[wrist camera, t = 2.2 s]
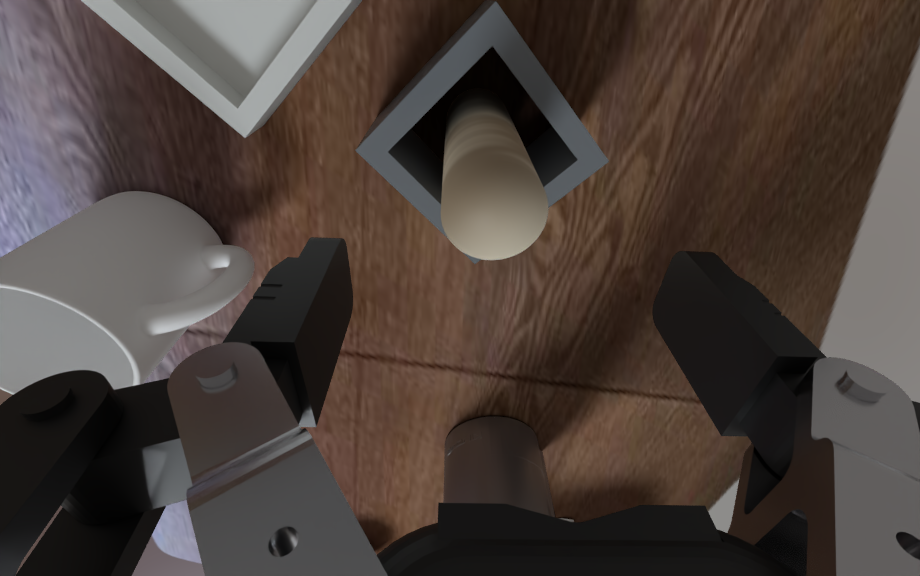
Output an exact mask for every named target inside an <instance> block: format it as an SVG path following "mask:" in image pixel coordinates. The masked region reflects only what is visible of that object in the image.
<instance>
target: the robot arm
mask: <svg viewBox="0 0 920 576" xmlns="http://www.w3.org/2000/svg"><path fill="white" fill-rule="evenodd" d="M352 307H353V290H352V283H351V275H350V268H349V260H348V253H347V246H346V242H345V240H344V239H342V238H314V237H312V238H310V239H309V240H308V242H307V244H306V246H305V247H304V249H303V251H302V252H301V254H300V256H299V258H290V257H287V258H286V259H285V260H283V261H282V262H280V263H279V264H278V265H276V266H275V267H273V268H272V269H270V271H269V272H268V274H267V276H266V277H265V279H264V280H263V282H262V283H261V287H259V288H258V289H257V291H256V292H255V294H254V295H253V299H251V300H250V302H249V303H248V305H247V306H246V308H245V309H244V311H243V312H242V314H241V315H240V317H239V318H238V320H237V321H236V323H235V325H234V326H233V328H232V329H231V331H230V332H229V334H228V335H227V337H226V338H225V340H224V341H223V343H221V344H217V345H213V346H210V347H207V348H204V349H202V350H199V351H198V352H196V353H194V354H192V355H191V356H189V357H188V358H186V359H185V360H184V361H182V362H181V363H180V364H179V365H178V366H177V367H176V368H175V369H174V371H173V372H172V374H171V375H170V378H167V379H163V380H159V381H154V382H149V383H144V384H140V385H135V386H130V387H125V388H120V389H116V390H114V389H113V388H112V386H111V385H110V383H109V382H108V380H107V379H106V377H105V376H104V375H102V374H101V373H98V372H96V371H91V370H74V371H68V372H63V373H59V374H55V375H52V376H49V377H47V378H44V379H42V380H39V381H37V382H35V383H33V384H31V385H29V386H27V387H25V388H23V389H22V390H20V391H18V392H17V393H15V394H14V395H12V396H11V397H10V398H8V399H7V400H6V401H5V402H3V403H2V404H1V405H0V576H15V575H16V576H132V574H133V572H134V570H135V568H136V566H137V564H138V561H139V560H140V558H141V556H142V553H143V551H144V549H145V548H146V545H147V543H148V541H149V539H150V537H151V535H152V533H153V531H154V529H155V527H156V525H157V523H158V521H159V519H160V517H161V515H162V513H163V511H164V509H165V507H166V505H170V504H173V503H177V502H180V501H184V500H187V504H188V508H189V513H190V517H191V521H192V525H193V529H194V533H195V537H196V541H197V545H198V549H199V553H200V557H201V561H202V565H203V569H204V573H205V576H920V403H918V402H914V401H911V400H910V398H909V397H908V395H907V394H906V393H905V392H904V391H903V390H902V389H901V388H900V387H899V386H898V385H896V384H895V383H894V382H893V381H891V380H889V379H888V378H887V377H885V376H884V375H882V374H880V373H878V372H877V371H875V370H873V369H871V368H869V367H866V366H864V365H862V364H859V363H856V362H853V361H850V360H846V359H841V358H831V357H829V358H827V357H826V356H825V355H824V354H823V353H822V352H821V351H820V350H819V349H818V348H817V347H816V346H815V345H814V344H813V343H812V342H811V341H810V340H809V339H808V338H807V337H805V336H804V335H803V334H802V333H801V332H800V331H799V330H798V329H797V328H796V327H795V326H794V325H793V324H792V323H791V322H790V321H789V320H788V319H787V318H786V317H785V316H781V312H780V311H779V310H778V309H777V308H776V307H775V306H774V305H773V304H770V303H769V300H768V299H767V298H766V297H765V296H764V295H763V294H762V293H761V292H760V291H759V290H758V289H757V288H756V287H755V286H754V285H752V284H750V283H749V282H747V281H745V280H744V279H742V278H740V277H739V276H737V275H736V274H735V273H734V272H733V271H732V270H731V269H730V268H729V267H728V266H727V265H726V264H725V263H724V262H723V261H722V260H721V259H720V258H719V257H718V256H717V255H716V254H715V253H712V252H690V251H680V252H678V253H676V254H675V255H674V256H673V258H672V260H671V262H670V264H669V267H668V269H667V272H666V274H665V277H664V279H663V281H662V284H661V286H660V289H659V291H658V294H657V296H656V298H655V301H654V304H653V320H654V323H655V326H656V328H657V329H658V331H659V333H660V334H661V336H662V338H663V339H664V341H665V343H666V344H667V346H668V348H669V349H670V351H671V353H672V354H673V356H674V358H675V359H676V361H677V363H678V364H679V366H680V368H681V369H682V371H683V373H684V374H685V376H686V378H687V379H688V381H689V383H690V384H691V386H692V388H693V389H694V391H695V393H696V394H697V396H698V398H699V399H700V401H701V403H702V404H703V406H704V408H705V409H706V411H707V413H708V414H709V416H710V418H711V419H712V421H713V423H714V424H715V426H716V428H717V429H718V431H719V433H720V434H721V436H748V437H749V439H750V440H751V442H752V443H751V444H750V446H749V447H748V448H747V449H746V451H745V453H744V457H743V462H742V468H741V473H740V479H739V484H738V489H737V495H736V500H735V506H734V511H733V517H732V522H731V525H730V528H729V530H728V533H725V532H723V531H720V530H717V529H716V527H715V525H714V523H713V521H712V519H711V517H710V515H709V513H708V511H707V509H706V507H705V506H679V505H639V506H636V507H633V508H629V509H626V510H623V511H619V512H616V513H612V514H609V515H606V516H602V517H599V518H596V519H592V520H589V521H585V522H580V523H577V522H570V521H566V520H563V519H559V518H556V517H555V513H554V508H553V503H552V498H551V493H550V488H549V483H548V478H547V472H546V467H545V462H544V457H543V452H542V451H540V450H539V445H538V440H537V437H536V434H535V433H534V431H533V430H532V429H531V428H530V427H529V426H527V425H526V424H524V423H522V422H520V421H518V420H515V419H511V418H506V417H482V418H477V419H473V420H470V421H467V422H465V423H463V424H461V425H459V426H458V427H456V428H455V429H453V430H452V431H451V433H450V434H449V435H448V437H447V439H446V441H445V460H444V500H443V503H439V506H438V523H435V524H432V525H428V526H425V527H422V528H420V529H417V530H415V531H413V532H411V533H408V534H406V535H405V536H403V537H401V538H400V539H398V540H396V541H395V542H393V543H392V544H390V545H389V546H388V547H386V548H385V549H384V550H382V551H381V552H380V553H379V554H377V555H376V553H375V552H374V550H373V548H372V546H371V544H370V542H369V541H368V539H367V537H366V535H365V533H364V531H363V530H362V528H361V526H360V524H359V522H358V520H357V519H356V517H355V515H354V513H353V511H352V509H351V508H350V506H349V504H348V502H347V500H346V499H345V497H344V495H343V493H342V491H341V489H340V488H339V486H338V484H337V482H336V480H335V478H334V477H333V475H332V473H331V471H330V469H329V467H328V466H327V464H326V462H325V460H324V458H323V457H322V455H321V453H320V451H319V449H318V447H317V446H316V444H315V442H314V440H313V438H312V437H311V435H310V434H309V432H308V431H307V430H306V429H305V428H304V429H301V428H300V427H316V426H317V423H318V420H319V417H320V414H321V410H322V407H323V404H324V401H325V398H326V394H327V391H328V388H329V385H330V382H331V379H332V375H333V372H334V369H335V366H336V363H337V359H338V356H339V353H340V350H341V347H342V343H343V340H344V337H345V334H346V331H347V328H348V324H349V321H350V318H351V314H352ZM60 505H61V506H62V507H63V508H62V510H61V511H60V512H59V514H58V515H57V516H56V518H55V519H54V521H53V522H52V524H51V525H50V527H49V528H48V529H47V531H46V532H45V534H44V536H43V537H42V538H41V540H40V541H39V542H38V544H37V546H36V547H35V548H34V550H33V551H32V553H31V554H30V556H29V557H28V558H27V560H26V561H25V563H24V564H23V566H22V567H21V568H20V570H19V571H18V573H17V574H16V572H17V570H18V568H19V566H20V564H21V562H22V560H23V559H24V557H25V556H26V554H27V553H28V551H29V550H30V548H31V547H32V546H33V544H34V543H35V541H36V540H37V538H38V537H39V536H40V534H41V533H42V531H43V530H44V528H45V527H46V526H47V524H48V523H49V521H50V520H51V518H52V517H53V515H54V514H55V513H56V511H57V510H58V508H59V507H60Z"/></svg>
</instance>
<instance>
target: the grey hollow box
mask: <svg viewBox="0 0 920 576" xmlns="http://www.w3.org/2000/svg"><path fill="white" fill-rule="evenodd" d="M492 46H493V48H494V49H495V50H496V52H497V53H498V54H499V56H500V57H501V58H502V60H503V61H504V62H505V64H506V65H507V66H508V68H509V69H510V71H511V72H512V73H513V75H514V76H515V77H516V79H517V80H518V81H519V83H520V84H521V85H522V87H523V88H524V89H525V91H526V92H527V93H528V95H529V96H530V97H531V99H532V100H533V101H534V103H535V104H536V105H537V107H538V108H539V109H540V111H541V112H542V113H543V115H544V116H545V117H546V119H547V120H548V121H549V123H550V124H551V125H552V126H551V127H550V128H549V129H547V130H546V131H545V132H544V133H543V134H542V135H540V136H539V137H538V138H537V139H536V140H535V141H533V142H532V143H531V144H530V145H529V146H528V147H526V148H525V149H526V151H527V153H528V155H529V158H530V160H531V162H532V164H533V166H534V168H535V170H536V172H537V175H538V177H539V179H540V181H541V183H542V185H543V187H544V190H545V192H546V195H547V199H548V208H549V207H550V206H551V205H553V204H554V203H555V202H557V201H558V200H559V199H560V198H562V197H563V196H564V195H566V194H567V193H568V192H570V191H571V190H572V189H574V188H575V187H576V186H577V185H579V184H580V183H581V182H583V181H584V180H585V179H587V178H588V177H589V176H591V175H592V174H593V173H594V172H596V171H597V170H598V169H600V168H601V167H602V166H604V165H605V164H606V163H608V162H609V161H608V159H607V158H606V157H605V155H604V154H603V152H602V151H601V149H600V148H599V147H598V145H597V144H596V142H595V141H594V140H593V138H592V137H591V135H590V134H589V132H588V131H587V130H586V128H585V127H584V125H583V124H582V122H581V121H580V120H579V118H578V117H577V115H576V114H575V113H574V111H573V110H572V108H571V107H570V105H569V104H568V103H567V101H566V100H565V98H564V97H563V95H562V94H561V93H560V91H559V90H558V88H557V87H556V86H555V84H554V83H553V81H552V80H551V78H550V77H549V76H548V74H547V73H546V71H545V70H544V68H543V67H542V66H541V64H540V63H539V61H538V60H537V59H536V57H535V56H534V54H533V53H532V51H531V50H530V49H529V47H528V46H527V44H526V43H525V41H524V40H523V39H522V37H521V36H520V34H519V33H518V32H517V30H516V29H515V27H514V26H513V24H512V23H511V22H510V20H509V19H508V17H507V16H506V14H505V13H504V12H503V10H502V9H501V7H500V6H499V5H498V3H497V2H496V1H492V0H485V1H484V2H483V3H482V4H481V5H480V6H479V7H478V9H477V10H476V11H475V12H474V13H473V14H472V15H471V16H470V17H469V18H468V19H467V20H466V22H465V23H464V24H463V25H462V26H461V27H460V28H459V29H458V30H457V31H456V32H455V33H454V34H453V36H452V37H451V38H450V39H449V40H448V41H447V42H446V43H445V44H444V45H443V46H442V47H441V48H440V50H439V51H438V52H437V53H436V54H435V55H434V56H433V57H432V58H431V59H430V60H429V61H428V62H427V64H426V65H425V66H424V67H423V68H422V69H421V70H420V71H419V72H418V73H417V74H416V75H415V77H414V78H413V79H412V80H411V81H410V82H409V83H408V84H407V85H406V86H405V87H404V88H403V89H402V91H401V92H400V93H399V94H398V95H397V96H396V97H395V98H394V99H393V100H392V101H391V102H390V103H389V105H388V106H387V107H386V108H385V109H384V110H383V111H382V112H381V113H380V114H379V115H378V116H377V117H376V119H375V121H374V122H373V124H372V125H371V127H370V128H369V130H368V131H367V133H366V135H365V136H364V138H363V139H362V141H361V142H360V144H359V146H358V147H357V149H356V150H355V151H356V152H357V153H358V154H360V155H361V156H362V157H363V158H364V159H365V160H366V161H367V162H368V163H369V164H370V165H371V166H372V167H373V168H374V169H375V170H376V171H377V172H378V173H380V174H381V175H382V176H383V177H384V178H385V179H386V180H387V181H388V182H389V183H390V184H391V185H392V186H393V187H394V188H395V189H396V190H397V191H399V192H400V193H401V194H402V195H403V196H404V197H405V198H406V199H407V200H408V201H409V202H410V203H411V204H412V205H413V206H414V207H415V208H416V209H418V210H419V211H420V212H421V213H422V214H423V215H424V216H425V217H426V218H427V219H428V220H429V221H430V222H431V223H432V224H433V225H434V226H435V227H436V228H438V229H439V230H440V231H441V232H442V233H443V234H444V235H445V236H446V237H447V235H446V233H445V231H444V229H443V226H442V222H441V198H442V181H443V165H444V163H443V162H442V161H441V160H440V159H439V158H438V157H437V156H436V155H435V153H434V152H433V151H432V150H431V149H430V148H429V147H428V146H427V145H426V144H425V143H424V142H423V141H422V140H421V139H420V138H419V137H418V135H417V134H416V133H415V132H414V131H413V130H412V129H411V128H412V127H413V126H414V125H415V124H416V123H417V122H418V121H419V120H420V119H421V118H422V117H423V116H424V115H425V114H426V113H427V112H428V110H429V109H430V108H431V107H432V106H433V105H434V104H435V103H436V102H437V101H438V100H439V99H440V98H441V97H442V96H443V95H444V94H445V93H446V92H447V91H448V90H449V89H450V88H451V87H452V86H453V85H454V84H455V83H456V82H457V81H458V80H459V79H460V78H461V77H462V76H463V75H464V74H465V73H466V72H467V71H468V70H469V69H470V68H471V67H472V66H473V65H474V64H475V63H476V62H477V61H478V60H479V59H480V58H481V57H482V56H483V55H484V54H485V53H486V52H487V51H488V50H489V49H490V48H491V47H492ZM447 238H448V237H447ZM448 239H449V238H448ZM463 253H464V252H463ZM464 254H465V253H464ZM465 255H466V256H467V257H468V258H469V259H470V260H471V261H472V262H473V263H474V264H476V263H477V262H478V261H479V260H481V259H478V258H475V257H472V256H469V255H467V254H465Z"/></svg>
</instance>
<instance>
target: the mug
mask: <svg viewBox="0 0 920 576" xmlns="http://www.w3.org/2000/svg"><path fill="white" fill-rule="evenodd" d="M253 272H254V260H253V257H252V255H251V254H250V253H249V252H248V251H247V250H245V249H243V248H241V247H239V246H234V245H223V244H222V242H221V240H220V238H219V236H218V235H217V233H216V232H215V231H214V229H213V228H212V227H211V226H210V225H209V224H208V222H207V221H206V220H204V219H203V218H202V217H201V216H200V215H199V214H197V213H196V212H195V211H193V210H192V209H190V208H189V207H187V206H186V205H184V204H182V203H180V202H178V201H176V200H174V199H172V198H169V197H167V196H163V195H160V194H156V193H151V192H143V191H127V192H122V193H117V194H114V195H111V196H109V197H106V198H104V199H102V200H100V201H98V202H96V203H94V204H93V205H91V206H89V207H87V208H86V209H84V210H82V211H80V212H79V213H77V214H75V215H74V216H72V217H70V218H68V219H67V220H65V221H63V222H61V223H60V224H58V225H56V226H54V227H53V228H51V229H49V230H48V231H46V232H44V233H42V234H41V235H39V236H37V237H35V238H34V239H32V240H30V241H29V242H27V243H25V244H23V245H22V246H20V247H18V248H16V249H15V250H13V251H11V252H9V253H8V254H6V255H4V256H3V257H1V258H0V389H2V390H4V391H6V392H8V393H10V394H13V395H14V394H15V393H17V392H18V391H20V390H22V389H23V388H25V387H27V386H29V385H31V384H33V383H35V382H37V381H39V380H42V379H44V378H47V377H49V376H52V375H55V374H59V373H63V372H68V371H74V370H91V371H96V372H98V373H101V374H102V375H104V376H105V377H106V379H107V380H108V382H109V383H110V385H111V386H112V388H113V389H114V390H116V389H120V388H125V387H130V386H135V385H140V384H143V383H144V382H145V381H146V380H147V378H148V377H149V376H150V375H151V373H152V372H153V371H154V370H155V368H156V367H157V366H158V365H159V363H160V362H161V361H162V360H163V358H164V357H165V356H166V355H167V353H168V352H169V351H170V350H171V348H172V347H173V346H174V345H175V343H176V342H177V341H178V340H179V338H180V337H181V336H182V335H183V333H184V332H185V331H186V330H187V328H188V327H189V326H190V325H192V324H194V323H196V322H198V321H201V320H202V319H204V318H206V317H208V316H210V315H212V314H213V313H215V312H217V311H218V310H220V309H221V308H222V307H224V306H225V305H227V304H228V303H229V302H230V301H231V300H233V299H234V298H235V297H236V296H237V295H238V294H239V293H240V292H241V291H242V290H243V289H244V288H245V286H246V285H247V284H248V283H249V281H250V279H251V277H252V275H253Z"/></svg>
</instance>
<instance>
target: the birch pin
mask: <svg viewBox="0 0 920 576" xmlns="http://www.w3.org/2000/svg"><path fill="white" fill-rule="evenodd" d="M547 217H548V199H547V195H546V192H545V190H544V187H543V185H542V183H541V181H540V179H539V177H538V175H537V172H536V170H535V168H534V166H533V164H532V162H531V160H530V158H529V155H528V153H527V151H526V149H525V147H524V145H523V143H522V141H521V138H520V136H519V134H518V132H517V130H516V128H515V126H514V123H513V121H512V119H511V117H510V115H509V113H508V111H507V109H506V106H505V104H504V103H503V101H502V100H501V99H500V98H499V96H497V95H496V94H495V93H493V92H492V91H489V90H487V89H482V88H474V89H470V90H467V91H465V92H463V93H461V94H460V95H458V96H457V97H456V98H455V99H454V101H453V102H452V103H451V105H450V107H449V110H448V113H447V118H446V133H445V149H444V165H443V181H442V198H441V222H442V226H443V229H444V231H445V233H446V235H447V237H448V238H449V240H450V241H451V242H452V243H453V245H454V246H455V247H457V248H458V249H459V250H460V251H462V252H464V253H465V254H467V255H469V256H472V257H475V258H478V259H483V260H499V259H505V258H509V257H512V256H514V255H517V254H519V253H521V252H522V251H524V250H525V249H527V248H528V247H529V246H530V245H532V244H533V243H534V242H535V240H536V239H537V238H538V237H539V235H540V234H541V232H542V230H543V229H544V226H545V224H546V220H547Z"/></svg>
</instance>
